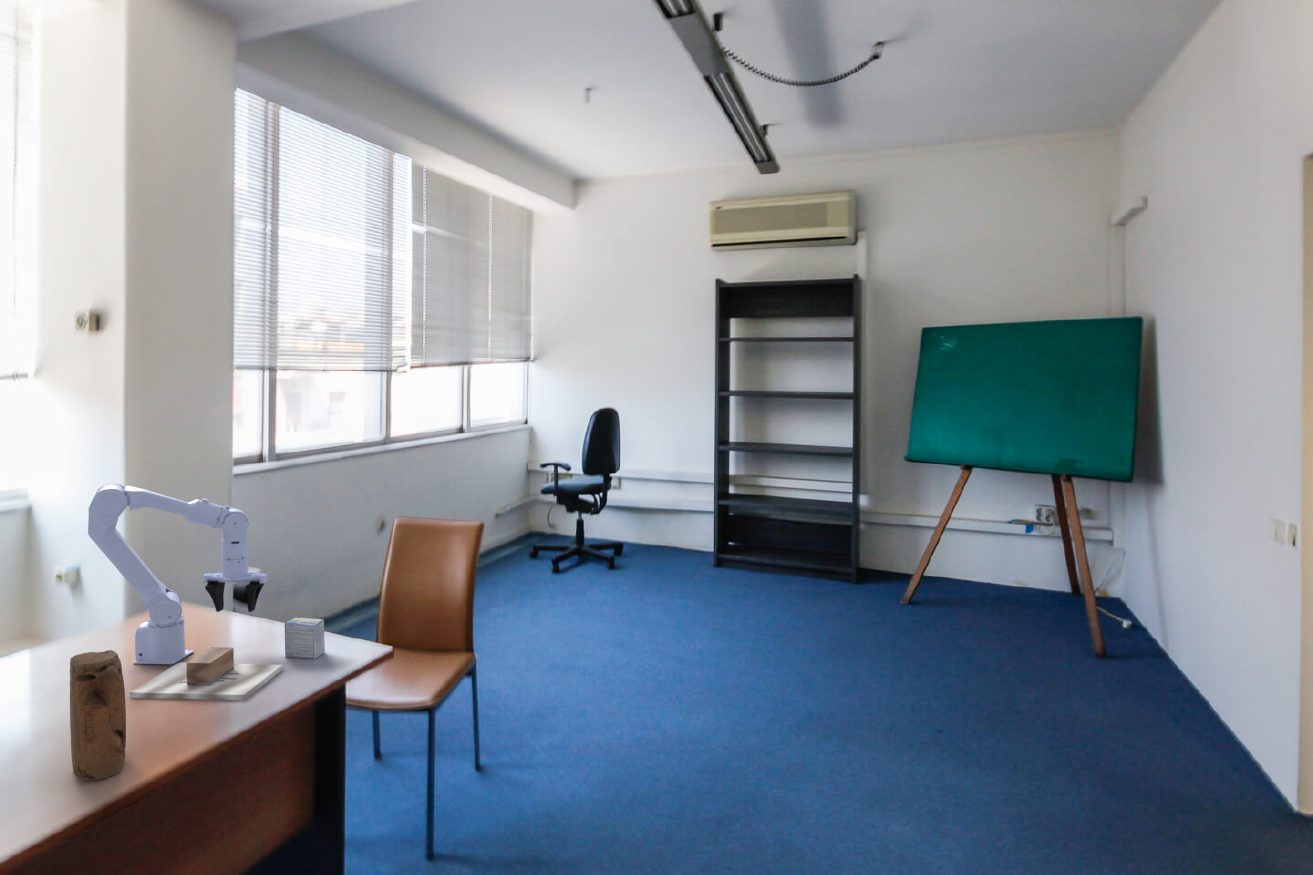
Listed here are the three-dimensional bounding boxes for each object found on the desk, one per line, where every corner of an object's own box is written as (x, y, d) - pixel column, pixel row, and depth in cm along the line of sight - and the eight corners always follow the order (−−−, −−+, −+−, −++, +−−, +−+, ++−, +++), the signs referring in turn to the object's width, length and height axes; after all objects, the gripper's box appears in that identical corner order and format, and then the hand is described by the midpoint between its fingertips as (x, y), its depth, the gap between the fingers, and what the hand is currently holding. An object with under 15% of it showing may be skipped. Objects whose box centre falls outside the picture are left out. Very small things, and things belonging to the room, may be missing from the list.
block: (71, 762, 127) (66, 652, 125) (123, 749, 132) (119, 643, 130) (74, 790, 119) (69, 672, 117) (130, 774, 124) (126, 661, 122)
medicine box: (325, 652, 179) (325, 618, 179) (315, 659, 175) (314, 624, 174) (295, 650, 180) (294, 616, 179) (284, 657, 176) (283, 622, 175)
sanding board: (129, 697, 152) (129, 691, 152) (179, 667, 168) (178, 662, 168) (244, 700, 153) (244, 694, 152) (282, 669, 169) (282, 664, 168)
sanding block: (187, 684, 156) (186, 662, 156) (211, 668, 165) (211, 647, 165) (210, 685, 156) (209, 663, 156) (233, 668, 165) (233, 647, 165)
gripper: (195, 561, 175) (196, 615, 176) (257, 561, 176) (258, 615, 177) (210, 553, 182) (212, 606, 183) (270, 554, 183) (271, 606, 184)
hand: (235, 610), depth 180 cm, fingers open, 7 cm apart
